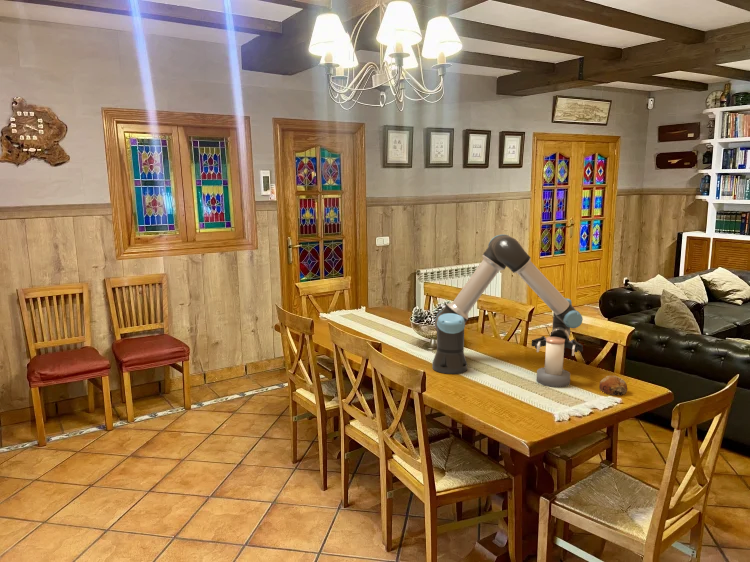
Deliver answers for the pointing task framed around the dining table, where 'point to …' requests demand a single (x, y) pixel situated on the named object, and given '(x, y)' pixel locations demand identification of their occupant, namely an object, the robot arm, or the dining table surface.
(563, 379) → the plinth
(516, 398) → the dining table surface
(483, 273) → the robot arm
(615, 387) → the bread roll
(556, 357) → the canister
